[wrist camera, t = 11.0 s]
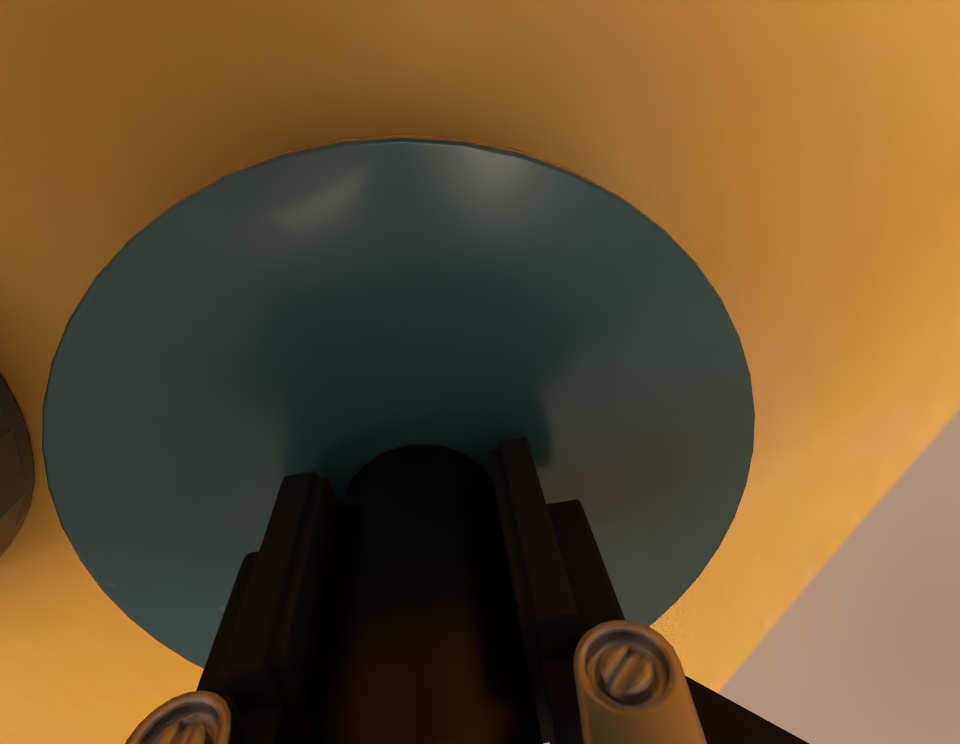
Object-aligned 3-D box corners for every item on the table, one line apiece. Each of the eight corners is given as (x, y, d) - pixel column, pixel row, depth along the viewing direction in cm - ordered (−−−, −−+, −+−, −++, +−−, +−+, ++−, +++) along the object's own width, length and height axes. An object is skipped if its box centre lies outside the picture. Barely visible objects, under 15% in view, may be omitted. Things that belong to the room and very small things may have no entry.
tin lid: (-78, 195, 9) (-996, 429, 3) (759, 74, 9) (1330, 83, 4) (215, 707, 16) (92, 1098, 10) (706, 623, 16) (877, 950, 10)
